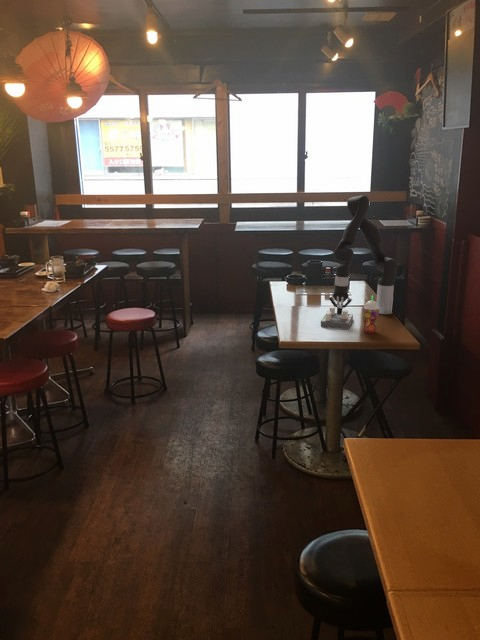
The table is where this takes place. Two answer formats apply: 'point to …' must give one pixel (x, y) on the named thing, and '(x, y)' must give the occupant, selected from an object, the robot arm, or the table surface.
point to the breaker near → (328, 316)
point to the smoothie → (370, 316)
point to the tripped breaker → (345, 314)
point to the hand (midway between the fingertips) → (339, 314)
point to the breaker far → (332, 310)
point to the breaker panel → (337, 321)
